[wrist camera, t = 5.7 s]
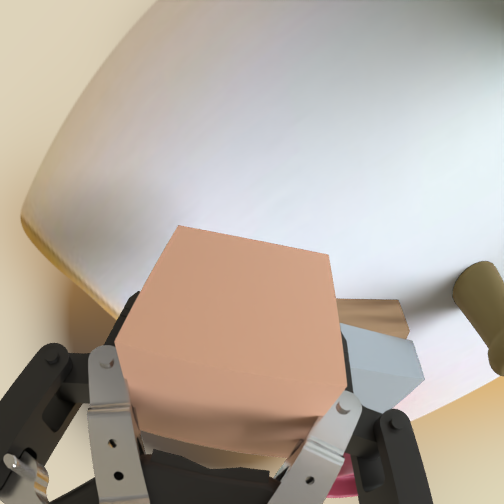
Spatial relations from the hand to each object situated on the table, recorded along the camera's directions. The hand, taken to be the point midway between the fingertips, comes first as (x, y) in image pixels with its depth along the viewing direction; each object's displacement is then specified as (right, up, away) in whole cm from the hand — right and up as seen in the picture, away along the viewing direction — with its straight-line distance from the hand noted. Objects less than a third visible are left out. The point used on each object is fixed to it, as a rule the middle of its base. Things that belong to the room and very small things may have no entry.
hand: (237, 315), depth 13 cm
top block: (+10, -8, +14) cm, 19 cm away
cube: (0, +1, +1) cm, 1 cm away
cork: (+24, -1, +14) cm, 28 cm away
